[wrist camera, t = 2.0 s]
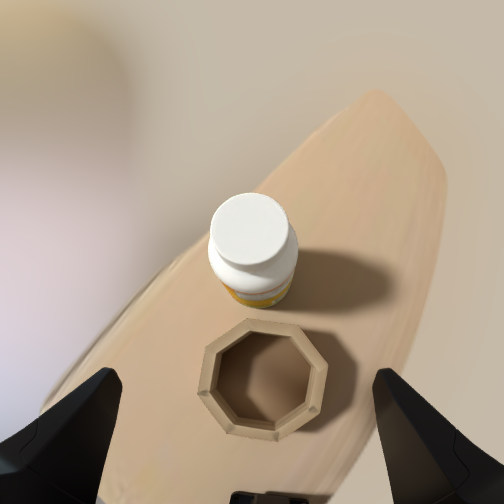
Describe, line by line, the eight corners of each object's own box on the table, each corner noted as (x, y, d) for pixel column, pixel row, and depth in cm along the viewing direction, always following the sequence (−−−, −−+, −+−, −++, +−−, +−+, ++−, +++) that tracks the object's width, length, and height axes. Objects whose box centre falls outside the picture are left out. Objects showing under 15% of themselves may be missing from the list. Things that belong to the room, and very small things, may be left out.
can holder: (307, 433, 18) (312, 445, 16) (202, 416, 19) (192, 425, 17) (325, 332, 21) (333, 329, 18) (220, 317, 22) (212, 312, 19)
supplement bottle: (226, 246, 24) (199, 183, 15) (290, 244, 24) (299, 179, 15) (225, 309, 22) (192, 280, 13) (293, 308, 22) (307, 277, 13)
